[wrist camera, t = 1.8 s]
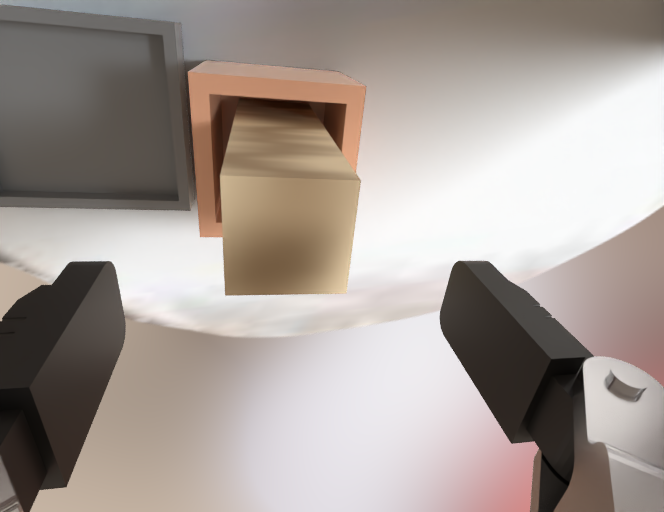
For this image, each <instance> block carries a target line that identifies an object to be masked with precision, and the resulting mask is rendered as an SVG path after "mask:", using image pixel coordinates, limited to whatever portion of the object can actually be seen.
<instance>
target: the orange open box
mask: <svg viewBox="0 0 664 512" xmlns="http://www.w3.org/2000/svg"><path fill="white" fill-rule="evenodd" d="M188 81H189V95H190V108H191V122H192V135H193V149H194V162H195V175H196V189H197V202H198V216H199V229H200V237H223V233H222V210H221V188H220V173H221V169H222V165H223V161H224V157H225V153H226V149H227V145H228V141H229V137H230V133H231V129H232V125H233V121H234V117H235V113H236V109H237V105H238V101H239V99H253V100H267V101H281V102H296V103H308V104H309V105H310V106H311V108H312V109H313V111H314V112H315V114H316V115H317V117H318V118H319V120H320V121H321V123H322V124H323V126H324V127H325V129H326V130H327V132H328V133H329V135H330V136H331V137H332V139H333V140H334V142H335V143H336V145H337V146H338V148H339V149H340V151H341V152H342V154H343V155H344V157H345V158H346V160H347V161H348V163H349V164H350V165H351V167H352V168H353V170H354V171H355V173H356V166H357V158H358V149H359V141H360V133H361V125H362V117H363V108H364V100H365V92H366V86H365V85H363V84H361V83H359V82H357V81H356V80H354V79H352V78H350V77H348V76H346V75H344V74H343V73H341V72H339V71H327V70H316V69H304V68H293V67H281V66H269V65H258V64H246V63H235V62H223V61H212V60H205V61H204V62H202V63H201V64H199V65H198V66H196V67H195V68H193V69H191V70H190V71H188Z"/></svg>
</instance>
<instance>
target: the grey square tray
mask: <svg viewBox="0 0 664 512" xmlns="http://www.w3.org/2000/svg"><path fill="white" fill-rule="evenodd" d="M194 199H195V197H194V185H193V172H192V159H191V146H190V133H189V120H188V107H187V94H186V82H185V69H184V56H183V43H182V30H181V23H177V22H167V21H157V20H147V19H138V18H128V17H118V16H108V15H98V14H88V13H78V12H69V11H59V10H49V9H39V8H29V7H19V6H10V5H0V207H37V208H86V209H135V210H185V211H190V210H191V207H192V204H193V202H194Z"/></svg>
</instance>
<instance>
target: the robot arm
mask: <svg viewBox="0 0 664 512" xmlns="http://www.w3.org/2000/svg"><path fill="white" fill-rule="evenodd" d="M551 316H552V315H551V314H550V313H549V312H548V311H546V310H545V309H544V308H543V307H540V304H539V303H538V302H537V301H536V300H535V299H534V298H533V297H532V296H531V295H530V294H529V293H528V292H527V291H525V290H524V289H522V288H520V287H519V286H517V285H515V284H514V283H512V282H510V281H508V280H507V279H506V278H505V277H504V276H503V275H502V274H501V273H500V272H499V271H498V270H497V269H496V268H495V267H494V266H493V265H492V264H491V263H490V262H488V261H458V262H456V263H455V264H454V266H453V268H452V271H451V274H450V278H449V281H448V285H447V289H446V292H445V296H444V300H443V303H442V307H441V311H440V325H441V329H442V332H443V335H444V336H445V338H446V340H447V341H448V343H449V344H450V346H451V348H452V349H453V351H454V352H455V354H456V355H457V357H458V359H459V360H460V362H461V363H462V365H463V367H464V368H465V370H466V372H467V373H468V375H469V376H470V378H471V380H472V381H473V383H474V384H475V386H476V388H477V389H478V391H479V392H480V394H481V396H482V397H483V399H484V400H485V402H486V404H487V405H488V407H489V409H490V410H491V412H492V413H493V415H494V417H495V418H496V420H497V421H498V423H499V425H500V426H501V428H502V429H503V431H504V433H505V434H506V436H507V437H508V439H509V441H510V442H511V443H512V444H513V443H522V442H532V441H535V443H536V444H537V446H538V447H539V449H538V451H537V454H536V455H535V457H534V465H533V479H532V492H531V506H530V512H664V387H663V386H662V385H661V384H660V383H658V381H656V380H655V379H654V378H653V377H651V376H650V375H649V374H647V373H646V372H644V371H643V370H641V369H639V368H637V367H635V366H633V365H631V364H629V363H627V362H624V361H621V360H618V359H615V358H610V357H602V356H596V357H594V356H593V355H592V354H591V353H590V352H589V351H588V350H587V349H586V348H585V347H584V346H583V345H582V344H581V343H580V342H579V341H578V340H577V339H576V338H575V337H574V336H573V335H571V334H570V333H569V332H568V331H567V330H566V329H565V328H564V327H563V326H562V325H561V324H560V323H559V322H558V321H557V320H556V319H555V318H552V317H551ZM124 339H125V317H124V312H123V306H122V301H121V296H120V290H119V285H118V280H117V275H116V270H115V267H114V265H113V263H112V262H110V261H91V262H70V263H69V264H68V265H67V266H66V267H65V269H64V270H63V271H62V272H61V274H60V275H59V276H58V278H57V279H56V280H55V281H54V283H53V284H52V285H41V286H40V287H38V288H37V289H35V290H33V291H31V292H30V293H28V294H27V295H25V296H23V297H22V298H20V299H18V300H17V301H16V303H15V304H14V305H13V306H12V307H11V308H10V309H9V311H8V312H7V313H6V314H5V315H4V316H3V318H2V321H0V512H30V509H31V507H32V505H33V503H34V501H35V498H36V496H37V494H38V492H39V490H44V489H54V488H63V487H67V484H68V482H69V479H70V477H71V474H72V472H73V469H74V466H75V464H76V461H77V459H78V457H79V454H80V452H81V449H82V447H83V444H84V442H85V439H86V437H87V434H88V432H89V429H90V427H91V424H92V422H93V419H94V417H95V415H96V412H97V410H98V407H99V404H100V402H101V400H102V397H103V395H104V392H105V390H106V387H107V385H108V382H109V380H110V377H111V375H112V372H113V370H114V367H115V365H116V362H117V360H118V357H119V355H120V352H121V350H122V347H123V344H124Z"/></svg>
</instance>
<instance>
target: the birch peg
mask: <svg viewBox="0 0 664 512" xmlns="http://www.w3.org/2000/svg"><path fill="white" fill-rule="evenodd" d="M360 183H361V180H360V179H359V177H358V176H357V174H356V173H355V171H354V170H353V168H352V167H351V165H350V164H349V163H348V161H347V160H346V158H345V157H344V155H343V154H342V152H341V151H340V149H339V148H338V146H337V145H336V143H335V142H334V140H333V139H332V137H331V136H330V135H329V133H328V132H327V130H326V129H325V127H324V126H323V124H322V123H321V121H320V120H319V118H318V117H317V115H316V114H315V112H314V111H313V109H312V108H311V106H310V105H309V104H308V103H296V102H281V101H267V100H253V99H239V101H238V105H237V109H236V113H235V117H234V121H233V125H232V129H231V133H230V137H229V141H228V145H227V149H226V153H225V157H224V161H223V165H222V169H221V173H220V188H221V210H222V233H223V255H224V278H225V295H283V294H343V293H346V291H347V283H348V276H349V268H350V260H351V252H352V245H353V237H354V229H355V221H356V214H357V206H358V198H359V190H360Z"/></svg>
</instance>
